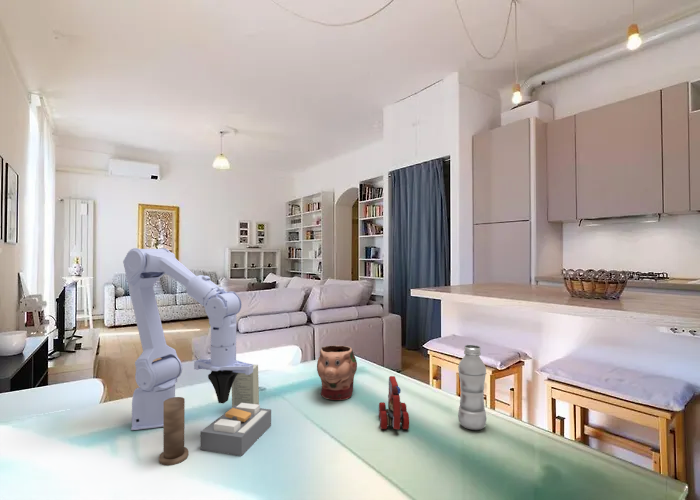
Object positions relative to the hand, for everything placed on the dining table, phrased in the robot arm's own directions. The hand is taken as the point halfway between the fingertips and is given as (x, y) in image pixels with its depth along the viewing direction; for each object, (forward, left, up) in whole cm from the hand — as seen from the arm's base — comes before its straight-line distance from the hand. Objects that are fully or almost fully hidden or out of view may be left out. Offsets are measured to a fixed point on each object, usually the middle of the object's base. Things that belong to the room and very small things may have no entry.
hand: (223, 401), depth 88 cm
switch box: (+3, -2, -8) cm, 9 cm away
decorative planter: (+32, +17, -8) cm, 37 cm away
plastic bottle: (+59, -13, -8) cm, 61 cm away
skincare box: (+5, +11, -8) cm, 15 cm away
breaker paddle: (+3, -2, -3) cm, 5 cm away
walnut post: (-9, -7, -8) cm, 14 cm away
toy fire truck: (+41, -6, -8) cm, 42 cm away
